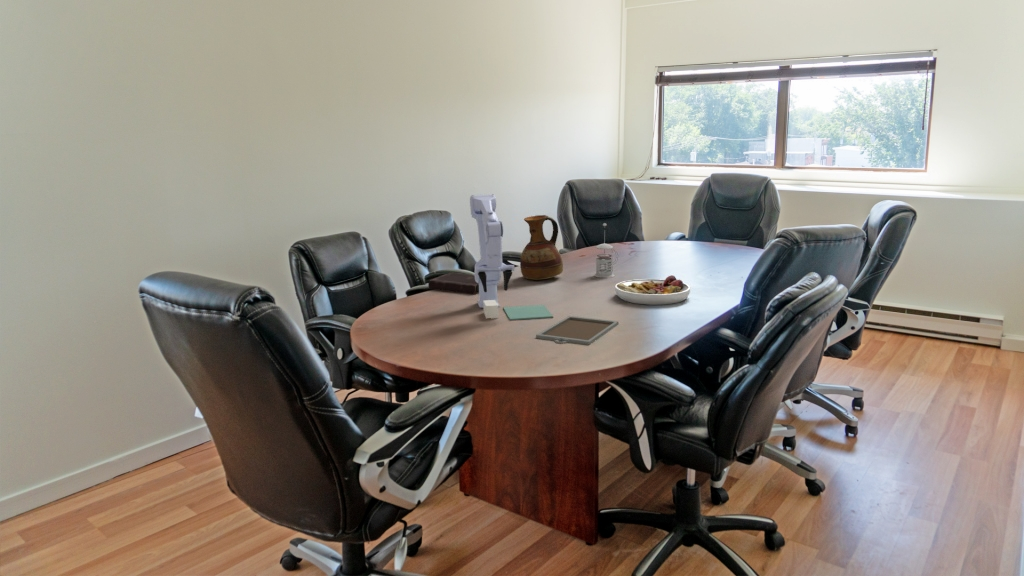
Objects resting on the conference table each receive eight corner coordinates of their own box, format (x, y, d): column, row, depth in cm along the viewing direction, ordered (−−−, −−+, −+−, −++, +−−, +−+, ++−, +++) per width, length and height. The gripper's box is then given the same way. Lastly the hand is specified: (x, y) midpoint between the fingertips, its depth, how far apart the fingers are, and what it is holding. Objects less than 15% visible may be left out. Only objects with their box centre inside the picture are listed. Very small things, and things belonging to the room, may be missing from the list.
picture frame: (618, 321, 242) (586, 344, 217) (618, 325, 243) (586, 348, 217) (568, 315, 251) (532, 336, 226) (569, 319, 252) (532, 341, 226)
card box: (483, 313, 262) (483, 300, 261) (495, 312, 263) (495, 299, 262) (486, 319, 254) (486, 306, 253) (498, 318, 254) (498, 305, 253)
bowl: (657, 311, 260) (658, 290, 259) (599, 298, 283) (599, 279, 281) (704, 298, 279) (705, 279, 277) (646, 287, 301) (647, 269, 300)
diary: (475, 296, 293) (474, 285, 292) (428, 290, 306) (427, 279, 305) (498, 287, 309) (497, 276, 308) (452, 282, 322) (452, 271, 320)
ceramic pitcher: (513, 276, 328) (512, 214, 322) (550, 272, 337) (550, 211, 330) (532, 284, 311) (531, 218, 305) (570, 279, 319) (570, 215, 313)
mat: (503, 308, 268) (503, 307, 268) (543, 306, 270) (543, 304, 270) (510, 320, 251) (510, 318, 250) (553, 317, 253) (553, 316, 253)
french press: (590, 274, 330) (590, 222, 325) (612, 272, 334) (613, 221, 328) (599, 278, 321) (599, 225, 316) (621, 276, 324) (622, 223, 319)
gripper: (477, 257, 247) (478, 294, 249) (516, 255, 250) (517, 291, 253) (473, 254, 253) (474, 290, 256) (511, 252, 257) (512, 287, 259)
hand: (495, 290), depth 255 cm, fingers open, 7 cm apart
